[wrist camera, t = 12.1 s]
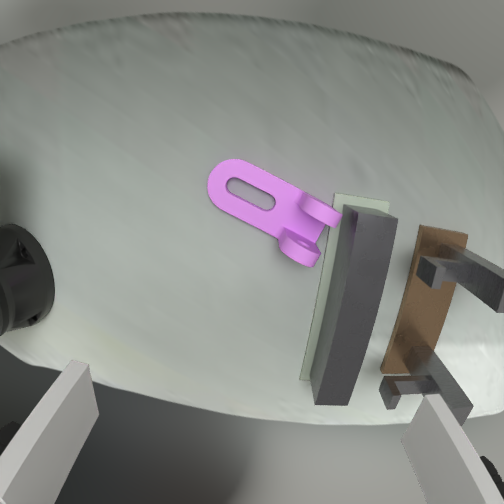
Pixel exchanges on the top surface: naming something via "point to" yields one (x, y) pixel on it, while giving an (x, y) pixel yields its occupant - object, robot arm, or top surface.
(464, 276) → the hook rack
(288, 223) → the bracket
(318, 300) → the mat
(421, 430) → the robot arm
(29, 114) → the top surface
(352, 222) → the rail
